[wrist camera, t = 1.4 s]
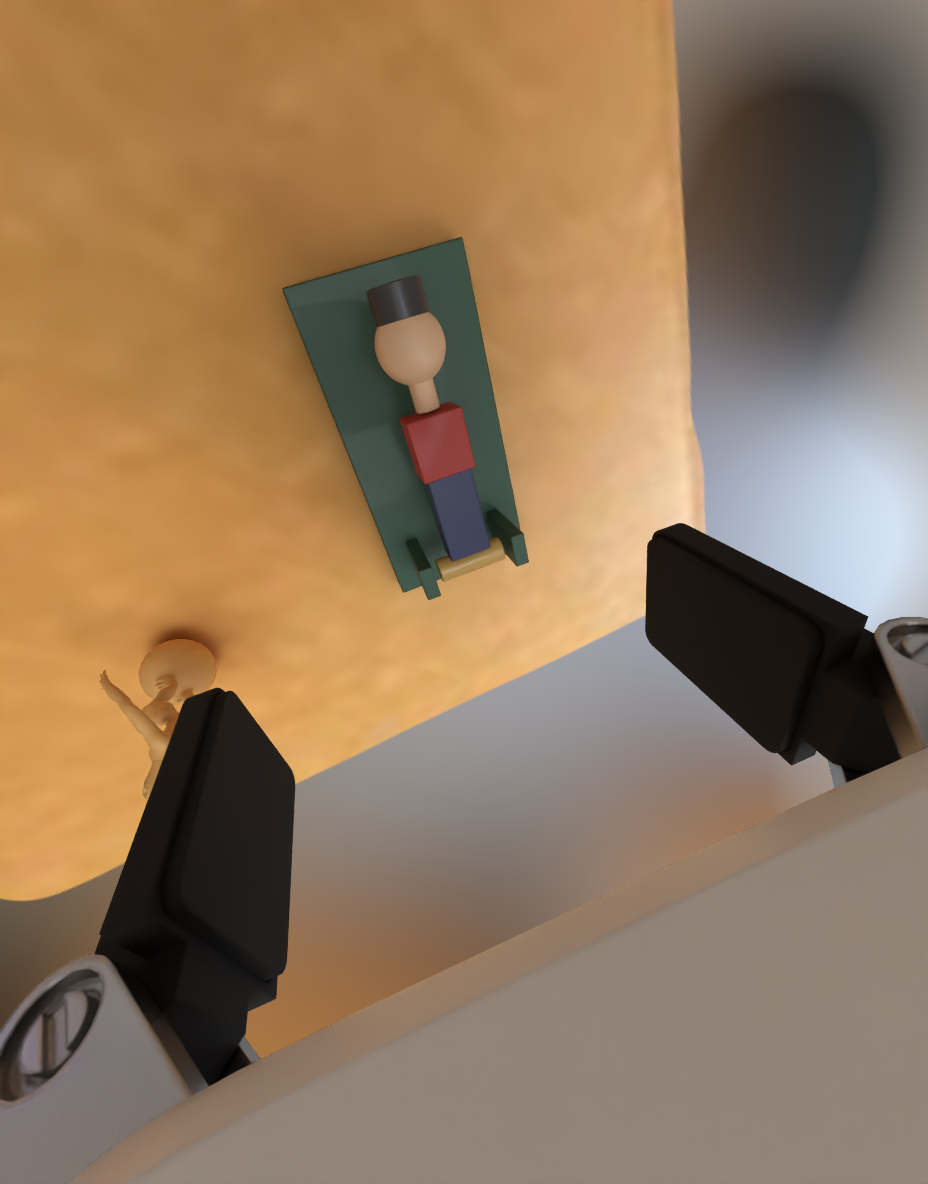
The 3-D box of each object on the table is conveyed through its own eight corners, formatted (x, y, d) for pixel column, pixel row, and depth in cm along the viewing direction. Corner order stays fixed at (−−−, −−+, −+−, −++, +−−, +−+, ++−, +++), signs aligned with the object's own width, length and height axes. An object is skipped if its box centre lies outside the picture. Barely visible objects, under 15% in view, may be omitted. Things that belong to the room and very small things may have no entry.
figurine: (104, 625, 26) (-29, 800, 16) (189, 573, 26) (109, 716, 16) (209, 704, 31) (157, 877, 21) (282, 660, 31) (264, 812, 21)
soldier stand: (283, 290, 21) (273, 275, 16) (456, 241, 22) (493, 212, 17) (400, 585, 30) (415, 628, 26) (517, 541, 31) (552, 575, 27)
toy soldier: (345, 300, 19) (349, 292, 17) (429, 275, 20) (446, 264, 17) (435, 569, 27) (448, 593, 25) (494, 547, 28) (513, 568, 25)
